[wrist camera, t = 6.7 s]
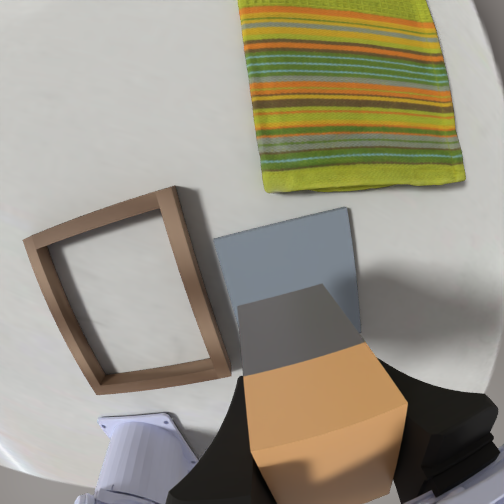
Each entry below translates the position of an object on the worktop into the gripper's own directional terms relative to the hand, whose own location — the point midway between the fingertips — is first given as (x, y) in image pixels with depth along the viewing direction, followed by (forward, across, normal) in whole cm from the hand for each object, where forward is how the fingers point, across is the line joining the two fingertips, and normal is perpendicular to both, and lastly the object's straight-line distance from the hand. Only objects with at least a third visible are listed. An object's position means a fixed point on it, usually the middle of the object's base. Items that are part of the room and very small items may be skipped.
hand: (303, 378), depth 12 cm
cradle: (+9, +10, -2) cm, 14 cm away
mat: (+9, -2, 0) cm, 10 cm away
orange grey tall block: (+2, 0, 0) cm, 2 cm away
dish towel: (+10, -10, -23) cm, 27 cm away
